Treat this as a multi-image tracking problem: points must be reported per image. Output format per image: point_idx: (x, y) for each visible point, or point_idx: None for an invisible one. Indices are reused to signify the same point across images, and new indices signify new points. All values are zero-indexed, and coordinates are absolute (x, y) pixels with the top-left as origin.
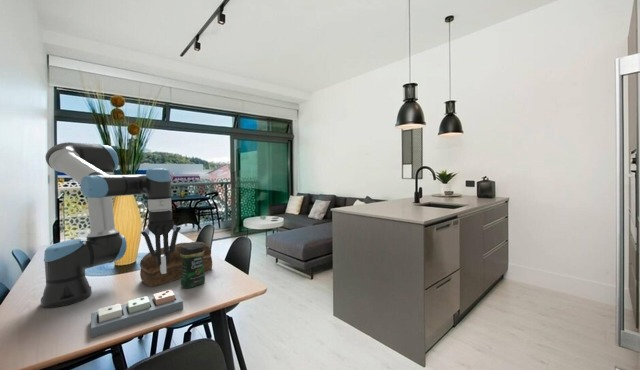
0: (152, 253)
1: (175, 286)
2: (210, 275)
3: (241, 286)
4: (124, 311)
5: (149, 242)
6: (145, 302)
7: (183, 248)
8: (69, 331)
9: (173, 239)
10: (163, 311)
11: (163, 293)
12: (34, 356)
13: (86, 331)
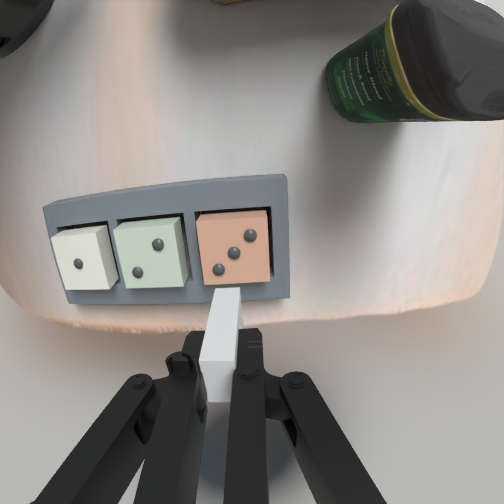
0: (147, 424)
1: (303, 53)
2: None
3: (468, 240)
4: (118, 256)
5: (107, 496)
6: (170, 284)
7: (437, 58)
8: (32, 225)
9: (320, 502)
10: None
11: (233, 247)
12: (22, 292)
13: None
